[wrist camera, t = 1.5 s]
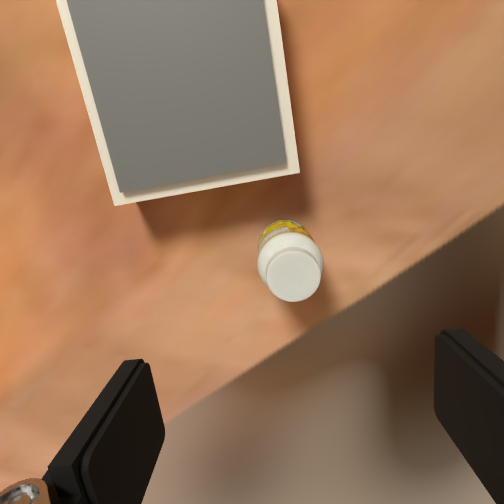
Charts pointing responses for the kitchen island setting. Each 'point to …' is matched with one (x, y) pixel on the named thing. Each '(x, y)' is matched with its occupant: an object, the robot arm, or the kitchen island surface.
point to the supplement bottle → (289, 261)
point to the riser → (183, 92)
